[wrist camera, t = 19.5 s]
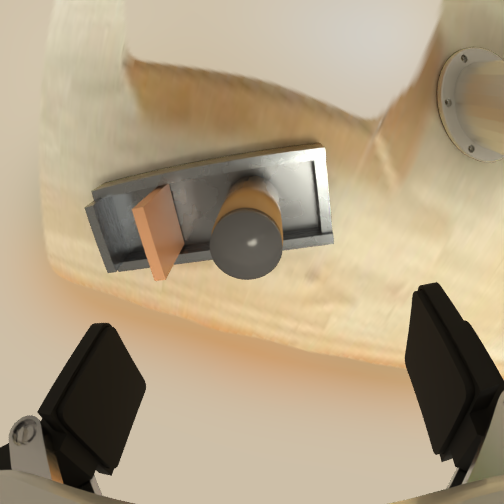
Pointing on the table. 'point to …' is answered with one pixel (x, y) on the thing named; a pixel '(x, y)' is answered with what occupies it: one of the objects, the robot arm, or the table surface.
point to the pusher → (159, 230)
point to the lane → (214, 202)
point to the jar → (248, 229)
